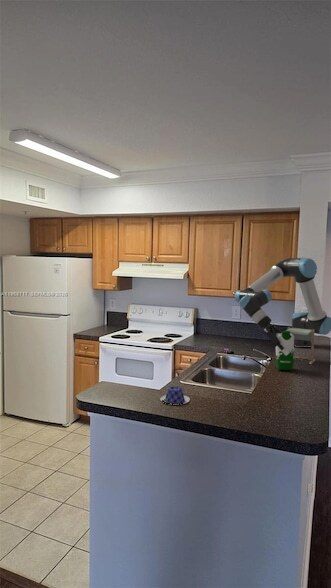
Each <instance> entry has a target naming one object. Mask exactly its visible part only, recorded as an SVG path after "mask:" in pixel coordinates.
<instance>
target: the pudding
mask: <svg viewBox="0 0 331 588" xmlns="http://www.w3.org/2000/svg"><path fill="white" fill-rule="evenodd" d="M164 399H165V402H166V401H167V402H170V404H172V403H178V404H173V405H179V403H180V404H181V403H183V404H182V405H185V404H187V403H189V402H190V400H191V399H190V397H189V396H188V395H185V394H184V391H183V388H182V387H181V386H174V385H173V386H170V387H168V388H167V390H166V394H164V395H162V396H161V397H160V398H159V400H160V401H161V402H162V400H164ZM171 402H172V403H171Z"/></svg>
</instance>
